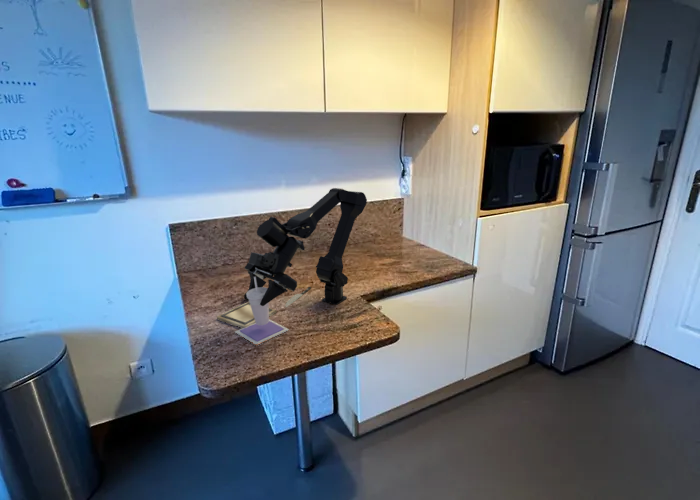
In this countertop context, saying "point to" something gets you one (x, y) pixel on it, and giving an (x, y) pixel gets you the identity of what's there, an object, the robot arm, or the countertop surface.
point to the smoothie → (258, 304)
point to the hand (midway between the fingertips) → (254, 302)
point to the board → (241, 316)
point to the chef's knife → (296, 297)
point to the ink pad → (261, 331)
